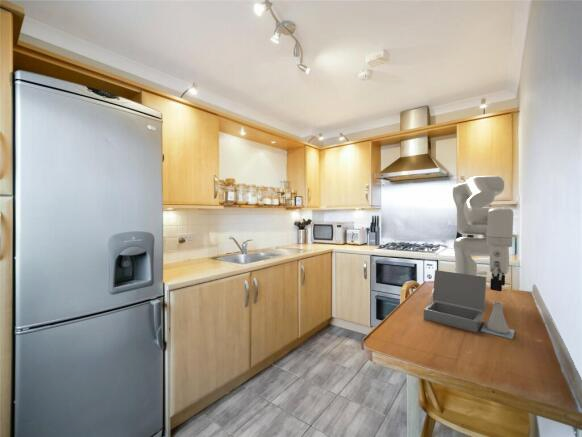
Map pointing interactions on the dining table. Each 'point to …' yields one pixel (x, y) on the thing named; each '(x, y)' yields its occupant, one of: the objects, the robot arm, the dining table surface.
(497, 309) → the flask
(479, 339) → the dining table surface
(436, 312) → the case
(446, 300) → the lid and stay
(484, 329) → the mat
